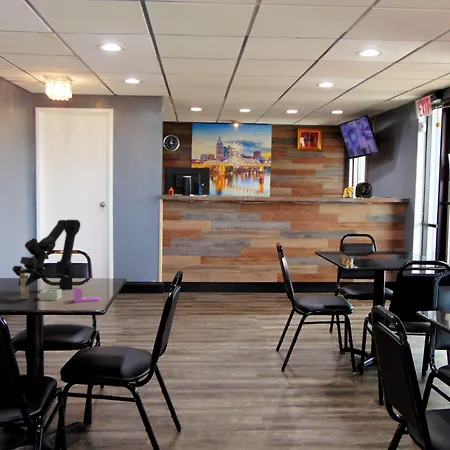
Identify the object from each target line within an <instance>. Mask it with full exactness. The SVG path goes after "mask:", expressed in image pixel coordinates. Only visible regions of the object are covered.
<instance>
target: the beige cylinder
mask: <svg viewBox="0 0 450 450" xmlns="http://www.w3.org/2000/svg"><path fill="white" fill-rule="evenodd" d="M20 277H21V285H20V299H22V300H25V299H29V285H28V286H26V285H25V284H26V282H27V280H28V278H29V274H28V273H20V276H19V278H20Z"/></svg>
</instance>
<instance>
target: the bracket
mask: <svg viewBox="0 0 450 450" xmlns="http://www.w3.org/2000/svg"><path fill="white" fill-rule="evenodd" d="M101 301H102V297H101V296H83V290H82V287H80V286H75V287H74V289H73V302H74V303H90V302H92V303H93V302H94V303H95V302H101Z"/></svg>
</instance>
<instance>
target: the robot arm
mask: <svg viewBox="0 0 450 450" xmlns="http://www.w3.org/2000/svg"><path fill="white" fill-rule="evenodd" d="M80 228H81V222H80V220H78V219H59V220H58V221H57V222H56V224H55V226H54V227H53V228H52V230H51V231H50V233H49V234H48V235H47V236H46V237H45V236H44V238H42V239H40V241H38V240H37V238H34V237H33V238H31V239H30V240H27V241H26V242H25V243H24V247H25V249H26V250H27V251H28V252H29V254H30V255H32V256H30V257H28V256H21V258H20V261H19V263H20V264H22V265H23V266H22V265H14V266H13V267H12V271H13V273H14V274H15V275H16V276H17V277H19V280H18V285H19V287H21V277H20V273H28V280H27V282H26V284H25V285H26V286H28V287H29V285H31V284H33V283H35V282H36V281H38V280H40V279H41V277H42V279H48V278H49V275H50V273H49V271H48V270H47V269H46V267H43V264H44V261H45V260H49V259H50V257H49V255H48V253H52V252H53V251H54V249H55V247H56V242H57V241H58V239H59V238H60V236H61V235H62V233H63V232H65V238H64V239H65V240H64V244H63V249H62V250H63V251H62V254H61V255H62V256H61V259H60V261H57V262H56V265H55V273H56V276H57V279H59V283H58V284H59V285H58V286H59V289H62V290H74V289H73V279H75V278H76V275H77V274H76V272H75V271H74V269H73V263H72V255H73V250H74V244H75V238H76V235H77V234H78V233H79V232H80Z"/></svg>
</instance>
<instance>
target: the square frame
mask: <svg viewBox="0 0 450 450" xmlns="http://www.w3.org/2000/svg"><path fill="white" fill-rule="evenodd" d="M62 296H63V289H60V288H58V289H57V288H56V289H55V288H54V289H53V288H48V289H47V288H44V289H43V290H42V291H39V301H58V300H60V299H61V298H62Z"/></svg>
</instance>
